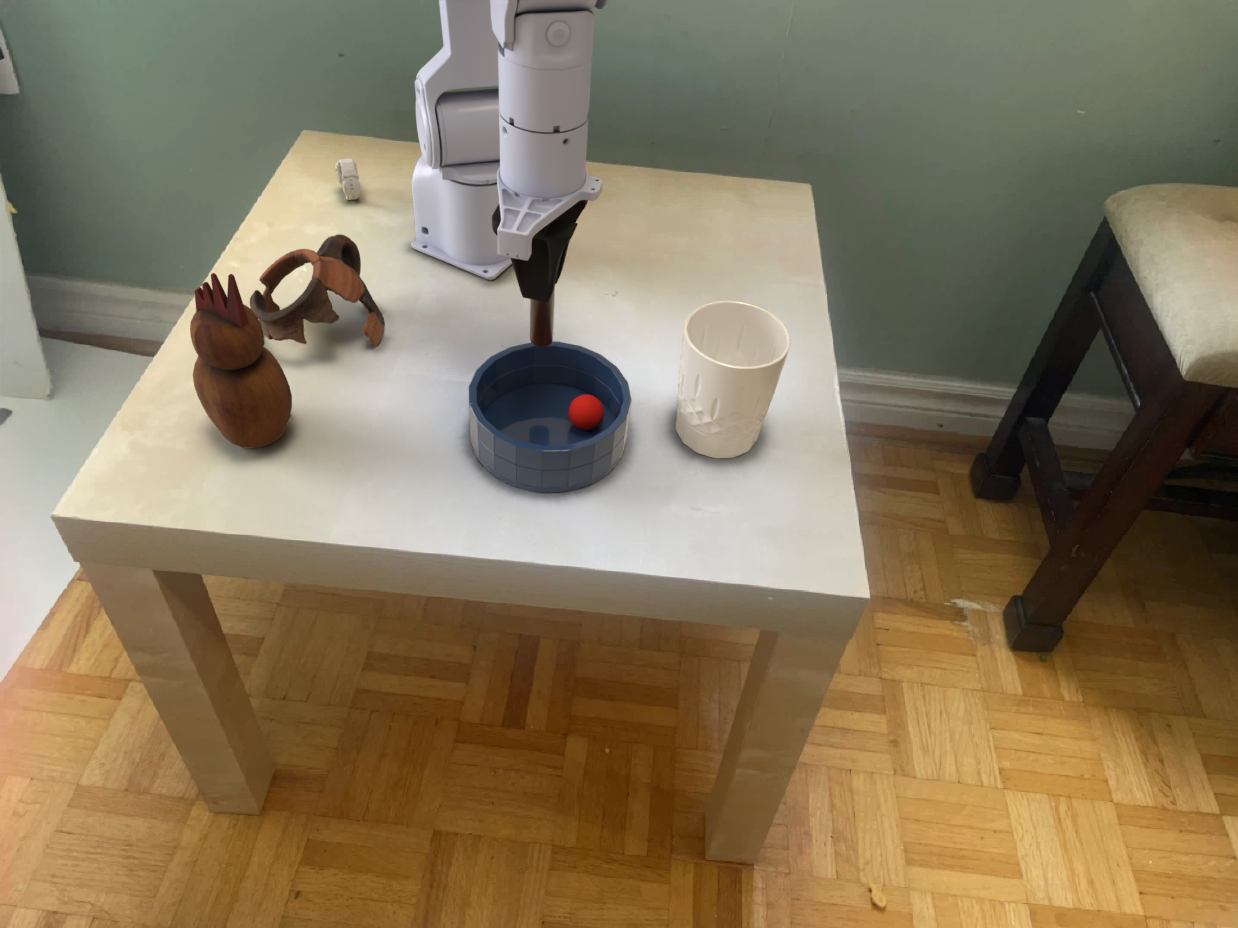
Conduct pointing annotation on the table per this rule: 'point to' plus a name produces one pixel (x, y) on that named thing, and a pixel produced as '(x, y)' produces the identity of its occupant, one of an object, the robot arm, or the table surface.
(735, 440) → the white cup
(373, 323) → the brown curved pieces
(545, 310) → the stick
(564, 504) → the table surface
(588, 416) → the red ball
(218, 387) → the wooden figurine
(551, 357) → the bowl
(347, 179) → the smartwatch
